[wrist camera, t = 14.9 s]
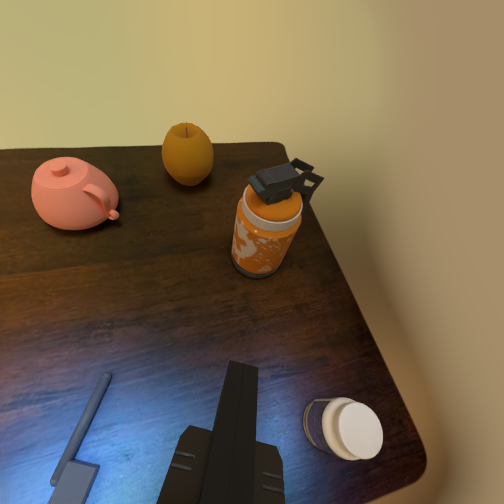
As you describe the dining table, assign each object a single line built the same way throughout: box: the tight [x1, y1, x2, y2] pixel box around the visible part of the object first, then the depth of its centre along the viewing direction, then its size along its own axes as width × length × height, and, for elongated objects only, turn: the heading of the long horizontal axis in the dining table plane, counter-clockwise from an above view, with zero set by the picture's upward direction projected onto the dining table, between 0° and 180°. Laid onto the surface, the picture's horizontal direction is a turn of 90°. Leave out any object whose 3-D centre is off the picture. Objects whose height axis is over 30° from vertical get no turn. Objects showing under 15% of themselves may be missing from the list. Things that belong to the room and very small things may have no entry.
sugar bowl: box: [32, 157, 119, 230], centre depth 41 cm, size 12×14×10 cm
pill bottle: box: [303, 397, 383, 460], centre depth 29 cm, size 6×6×10 cm
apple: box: [162, 123, 214, 186], centre depth 48 cm, size 10×10×12 cm
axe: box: [48, 372, 111, 504], centre depth 29 cm, size 13×4×1 cm, turn 168°
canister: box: [231, 158, 324, 278], centre depth 37 cm, size 9×11×20 cm
